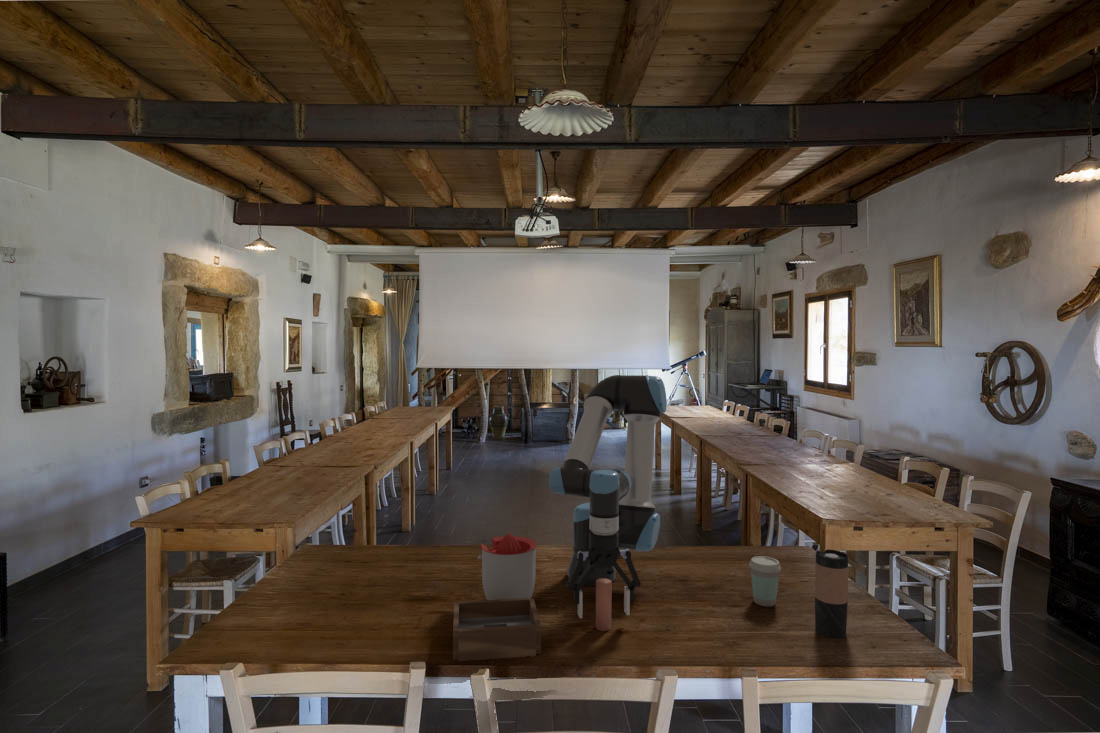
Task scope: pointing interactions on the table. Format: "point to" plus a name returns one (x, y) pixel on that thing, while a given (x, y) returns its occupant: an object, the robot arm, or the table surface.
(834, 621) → the travel mug
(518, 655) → the open box
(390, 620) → the table surface
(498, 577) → the citrus juicer
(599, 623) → the peg
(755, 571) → the coffee cup
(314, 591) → the table surface
